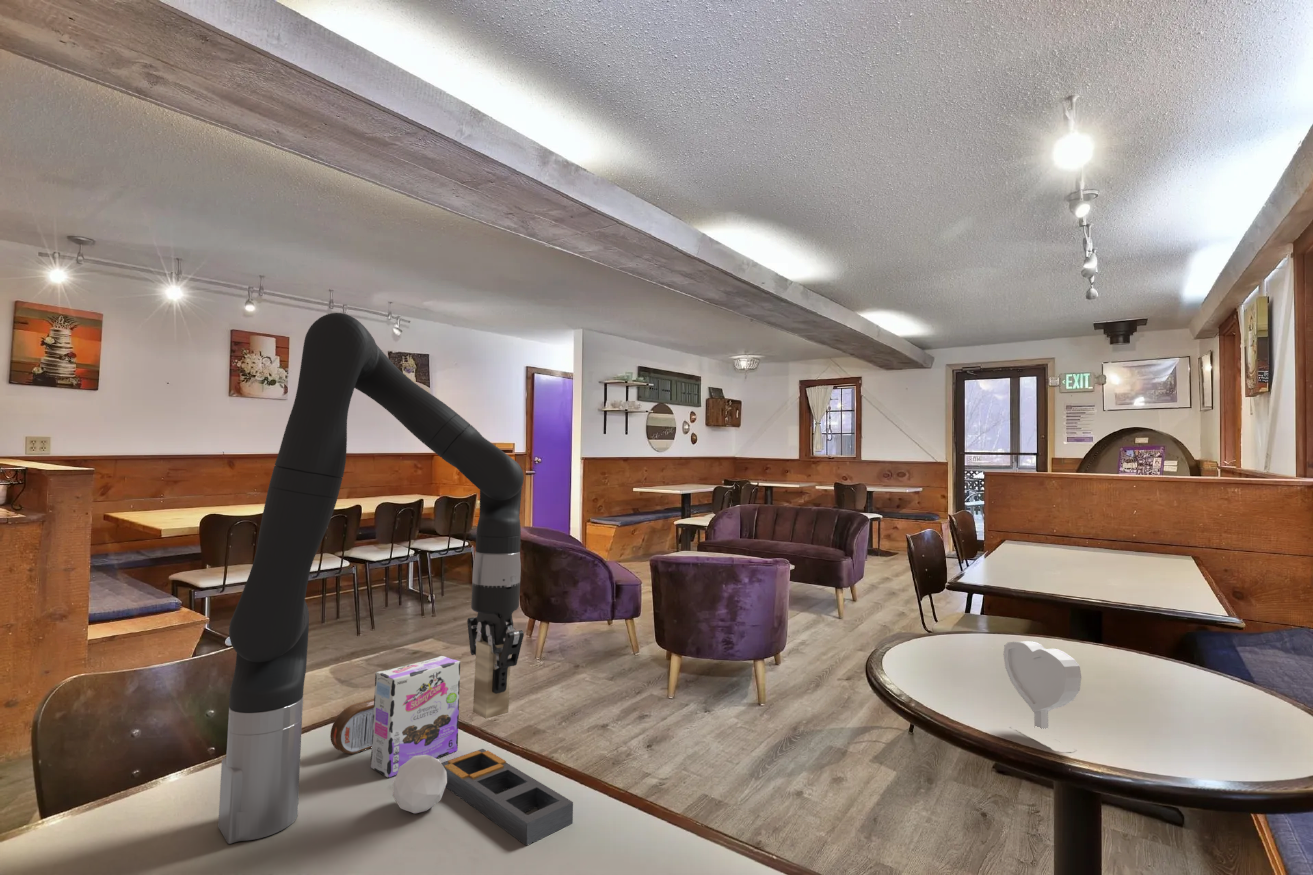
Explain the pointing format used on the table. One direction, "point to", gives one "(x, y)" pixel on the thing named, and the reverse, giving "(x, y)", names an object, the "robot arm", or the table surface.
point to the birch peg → (488, 684)
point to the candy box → (415, 713)
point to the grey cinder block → (508, 796)
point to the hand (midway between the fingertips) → (491, 687)
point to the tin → (354, 728)
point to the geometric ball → (419, 783)
